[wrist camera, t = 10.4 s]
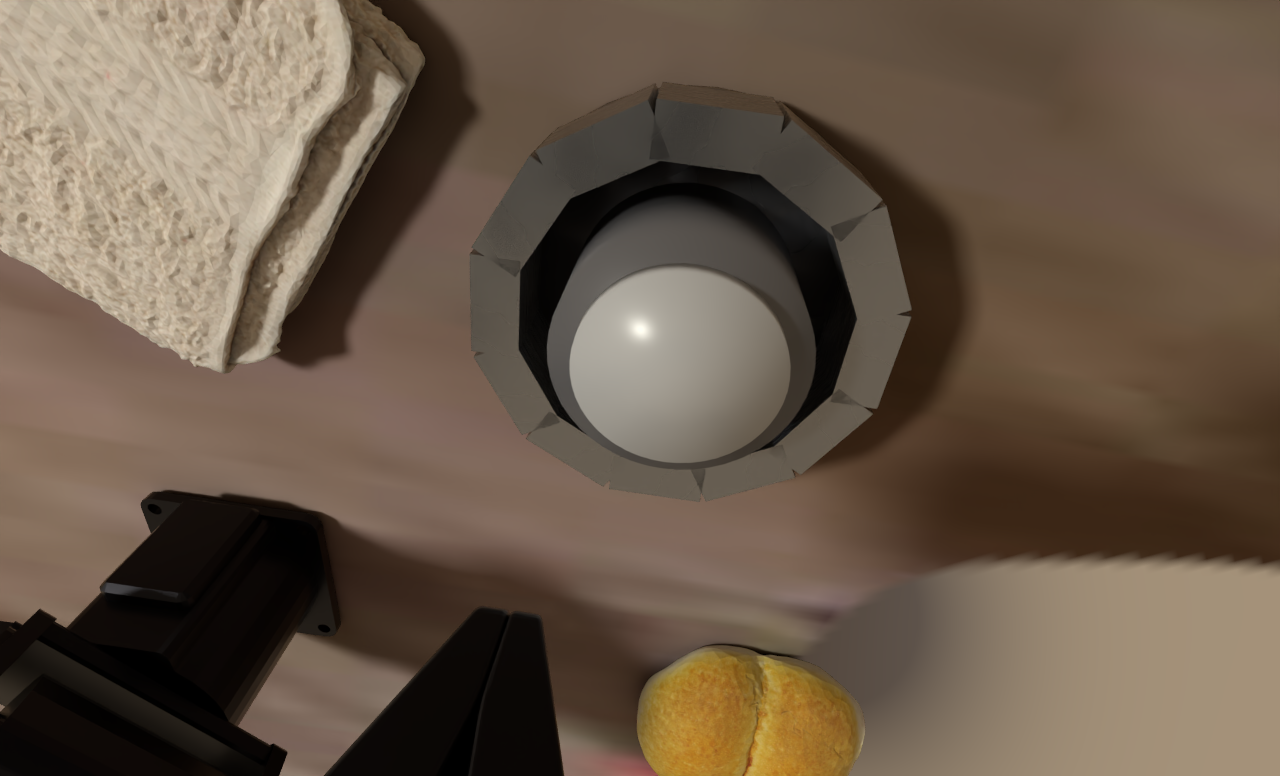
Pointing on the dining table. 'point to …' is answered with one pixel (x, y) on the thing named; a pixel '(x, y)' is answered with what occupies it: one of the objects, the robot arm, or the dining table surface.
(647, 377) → the cap
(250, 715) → the dining table surface
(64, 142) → the washcloth
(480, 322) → the grey ring
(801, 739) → the bread roll
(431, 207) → the dining table surface
